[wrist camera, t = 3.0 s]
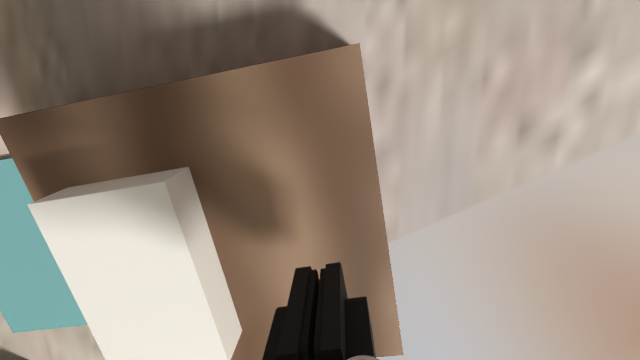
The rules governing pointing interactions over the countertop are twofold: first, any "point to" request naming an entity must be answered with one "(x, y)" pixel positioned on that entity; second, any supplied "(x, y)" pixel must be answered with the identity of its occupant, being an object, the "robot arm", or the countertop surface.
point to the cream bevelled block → (142, 267)
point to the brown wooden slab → (243, 174)
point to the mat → (29, 265)
